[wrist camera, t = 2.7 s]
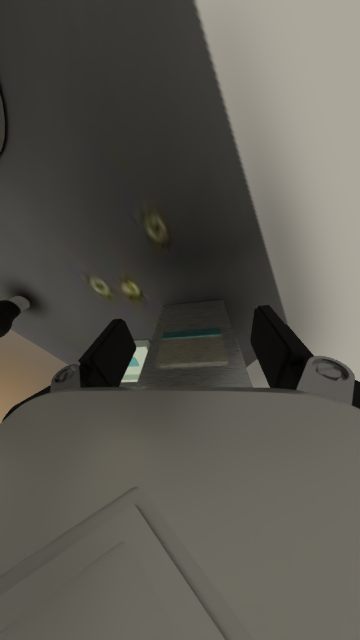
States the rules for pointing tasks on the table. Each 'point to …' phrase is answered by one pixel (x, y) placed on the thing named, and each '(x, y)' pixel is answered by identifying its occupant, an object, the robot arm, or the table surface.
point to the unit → (194, 349)
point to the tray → (136, 361)
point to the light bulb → (11, 312)
